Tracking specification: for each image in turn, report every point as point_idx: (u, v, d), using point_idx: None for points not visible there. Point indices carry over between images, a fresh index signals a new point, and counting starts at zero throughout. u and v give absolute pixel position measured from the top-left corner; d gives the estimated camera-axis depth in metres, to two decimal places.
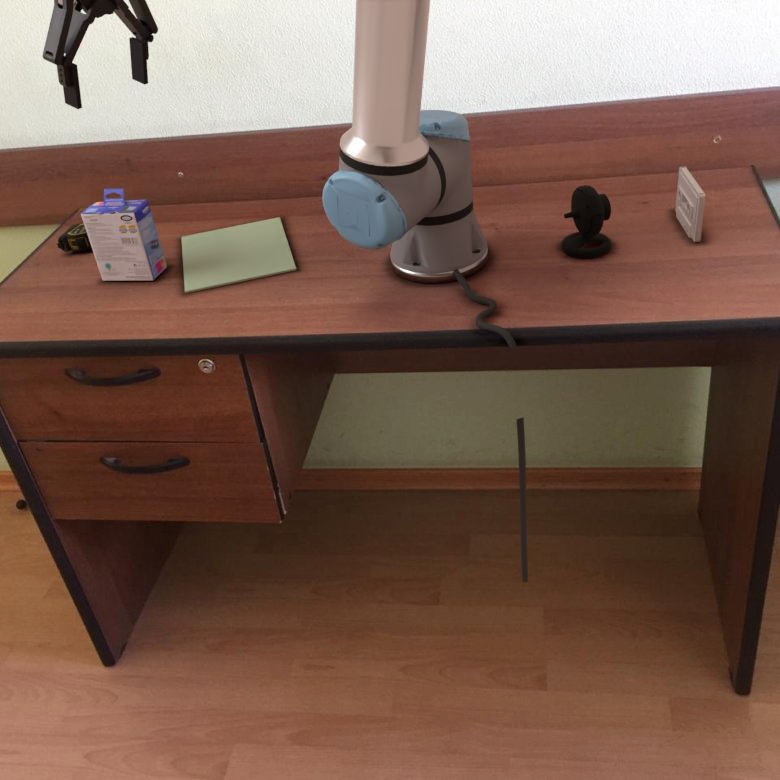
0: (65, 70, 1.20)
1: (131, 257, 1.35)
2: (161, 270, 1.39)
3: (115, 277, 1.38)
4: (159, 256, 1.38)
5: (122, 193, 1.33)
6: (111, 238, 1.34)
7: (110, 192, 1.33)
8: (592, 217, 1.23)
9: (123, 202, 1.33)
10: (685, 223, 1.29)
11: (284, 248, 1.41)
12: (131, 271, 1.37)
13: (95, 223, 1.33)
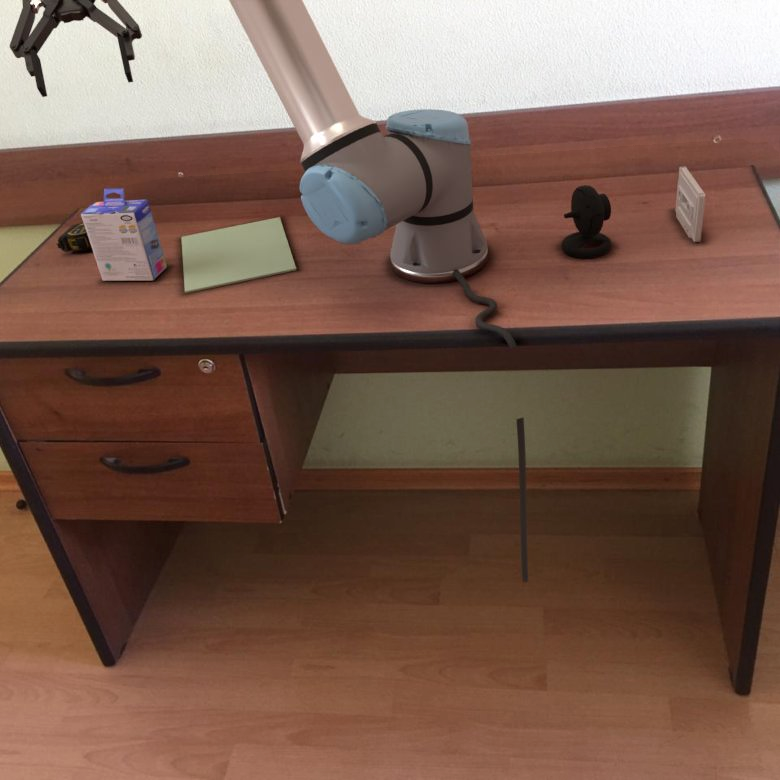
0: (26, 57, 1.32)
1: (131, 257, 1.35)
2: (161, 270, 1.39)
3: (115, 277, 1.38)
4: (159, 256, 1.38)
5: (122, 193, 1.33)
6: (111, 238, 1.34)
7: (110, 191, 1.33)
8: (592, 217, 1.23)
9: (123, 202, 1.33)
10: (685, 223, 1.29)
11: (284, 248, 1.41)
12: (131, 271, 1.37)
13: (95, 223, 1.33)
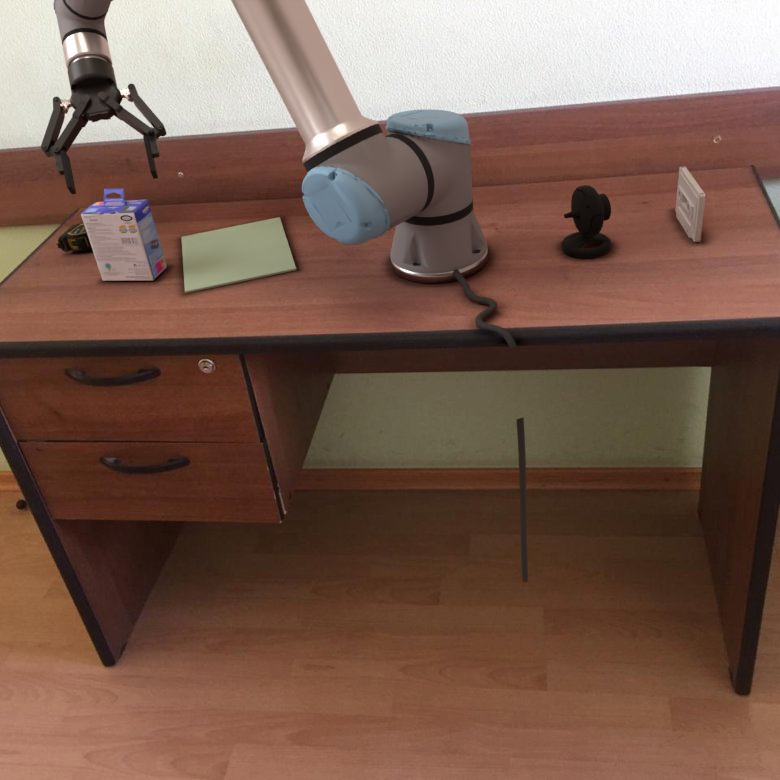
0: (56, 157, 1.37)
1: (131, 257, 1.35)
2: (161, 270, 1.39)
3: (115, 277, 1.38)
4: (159, 256, 1.38)
5: (122, 193, 1.33)
6: (111, 238, 1.34)
7: (110, 192, 1.33)
8: (592, 217, 1.23)
9: (123, 202, 1.33)
10: (685, 223, 1.29)
11: (284, 248, 1.41)
12: (131, 271, 1.37)
13: (95, 223, 1.33)
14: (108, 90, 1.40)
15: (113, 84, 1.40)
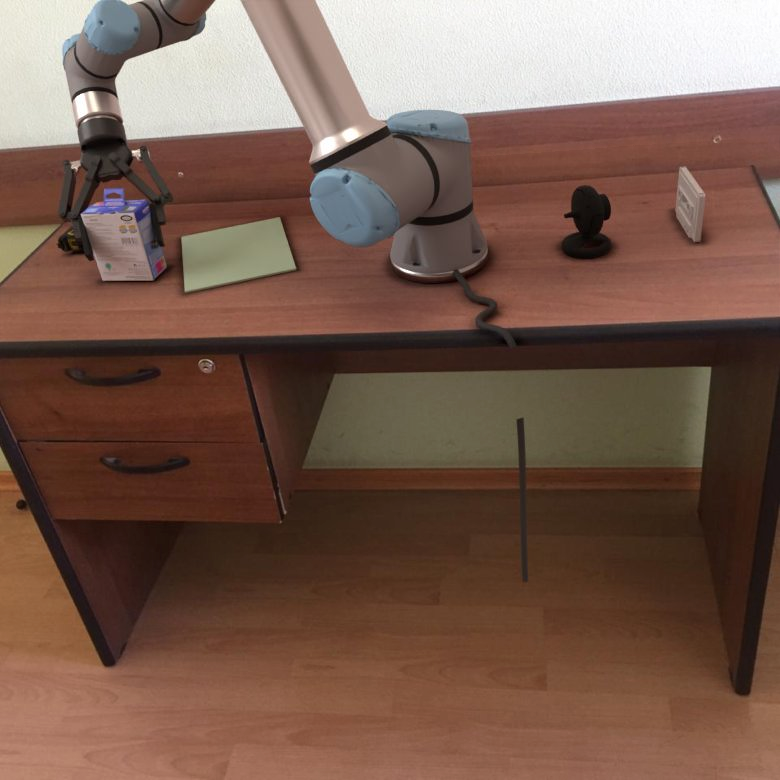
0: (74, 223, 1.34)
1: (131, 257, 1.35)
2: (161, 270, 1.39)
3: (115, 277, 1.38)
4: (159, 256, 1.38)
5: (122, 193, 1.33)
6: (111, 238, 1.34)
7: (110, 192, 1.33)
8: (592, 217, 1.23)
9: (123, 202, 1.33)
10: (685, 223, 1.29)
11: (284, 248, 1.41)
12: (131, 271, 1.37)
13: (95, 223, 1.33)
14: (118, 150, 1.36)
15: (124, 144, 1.37)
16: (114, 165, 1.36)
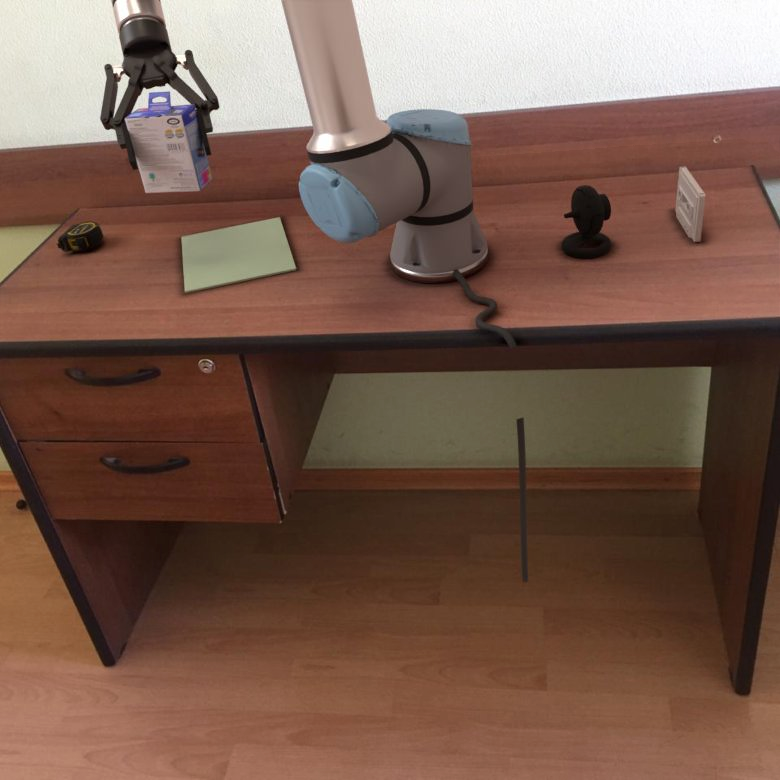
0: (117, 129, 1.27)
1: (176, 165, 1.29)
2: (207, 181, 1.32)
3: (159, 188, 1.31)
4: (205, 166, 1.31)
5: (168, 96, 1.26)
6: (156, 144, 1.27)
7: (155, 95, 1.27)
8: (592, 217, 1.23)
9: (169, 106, 1.26)
10: (685, 223, 1.29)
11: (284, 248, 1.41)
12: (177, 181, 1.30)
13: (140, 129, 1.26)
14: (163, 55, 1.30)
15: (168, 48, 1.30)
16: (158, 70, 1.29)
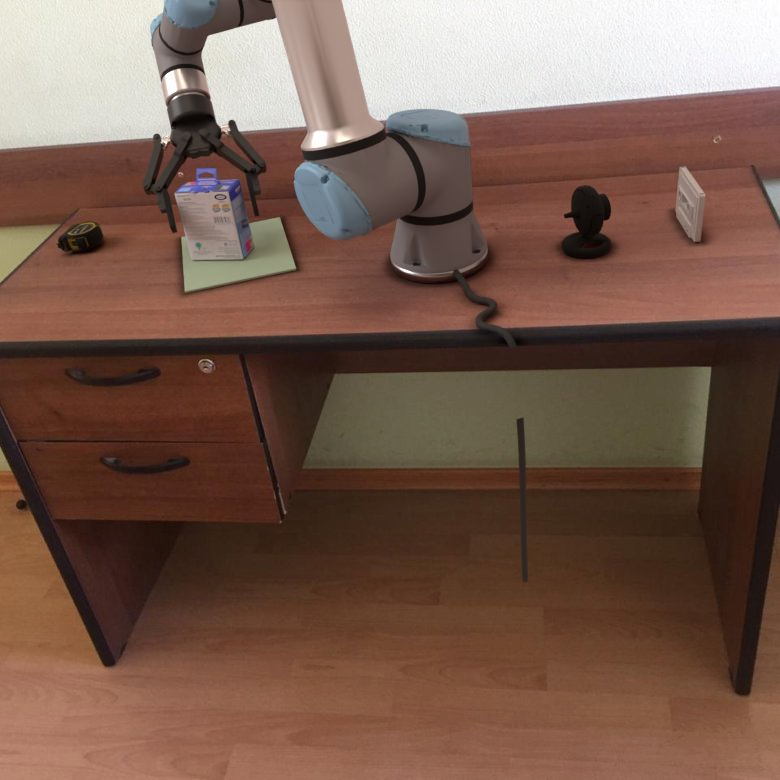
0: (158, 195, 1.35)
1: (222, 236, 1.37)
2: (249, 249, 1.40)
3: (205, 256, 1.40)
4: (248, 235, 1.39)
5: (215, 172, 1.34)
6: (203, 217, 1.35)
7: (203, 171, 1.35)
8: (592, 217, 1.23)
9: (216, 181, 1.34)
10: (685, 223, 1.29)
11: (284, 248, 1.41)
12: (221, 250, 1.38)
13: (188, 203, 1.34)
14: (208, 127, 1.38)
15: (213, 120, 1.38)
16: (205, 141, 1.37)
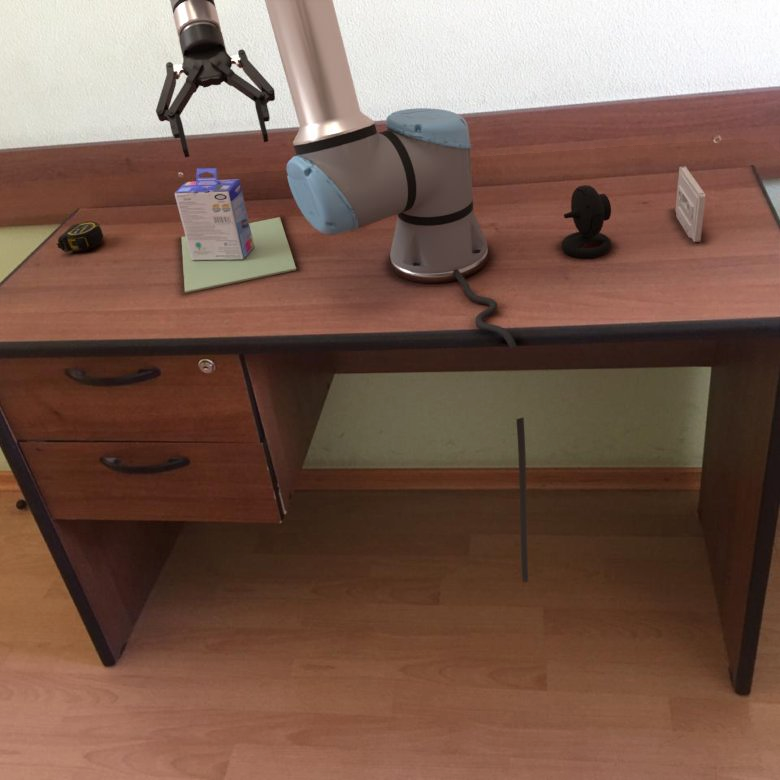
0: (171, 121, 1.40)
1: (222, 236, 1.37)
2: (249, 249, 1.40)
3: (205, 256, 1.40)
4: (248, 235, 1.39)
5: (215, 172, 1.34)
6: (203, 217, 1.35)
7: (203, 171, 1.35)
8: (592, 217, 1.23)
9: (216, 181, 1.34)
10: (685, 223, 1.29)
11: (284, 248, 1.41)
12: (221, 250, 1.38)
13: (188, 202, 1.34)
14: (219, 56, 1.43)
15: (224, 50, 1.44)
16: (216, 69, 1.43)
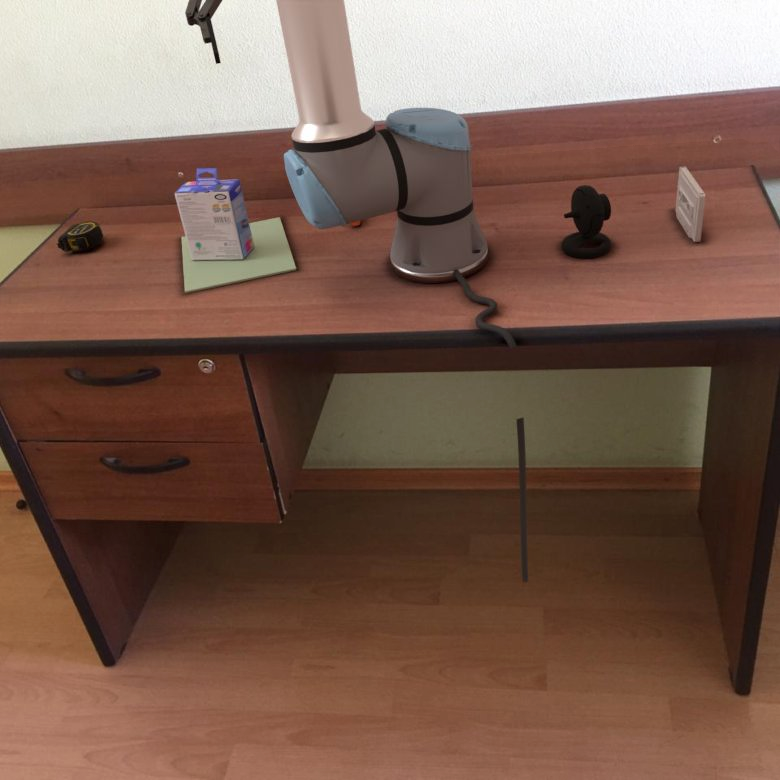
0: (201, 24, 1.32)
1: (222, 236, 1.37)
2: (249, 249, 1.40)
3: (205, 256, 1.40)
4: (248, 235, 1.39)
5: (215, 172, 1.34)
6: (203, 217, 1.35)
7: (203, 171, 1.35)
8: (592, 217, 1.23)
9: (216, 181, 1.34)
10: (685, 223, 1.29)
11: (284, 248, 1.41)
12: (221, 250, 1.38)
13: (188, 202, 1.34)
14: None
15: None
16: None
